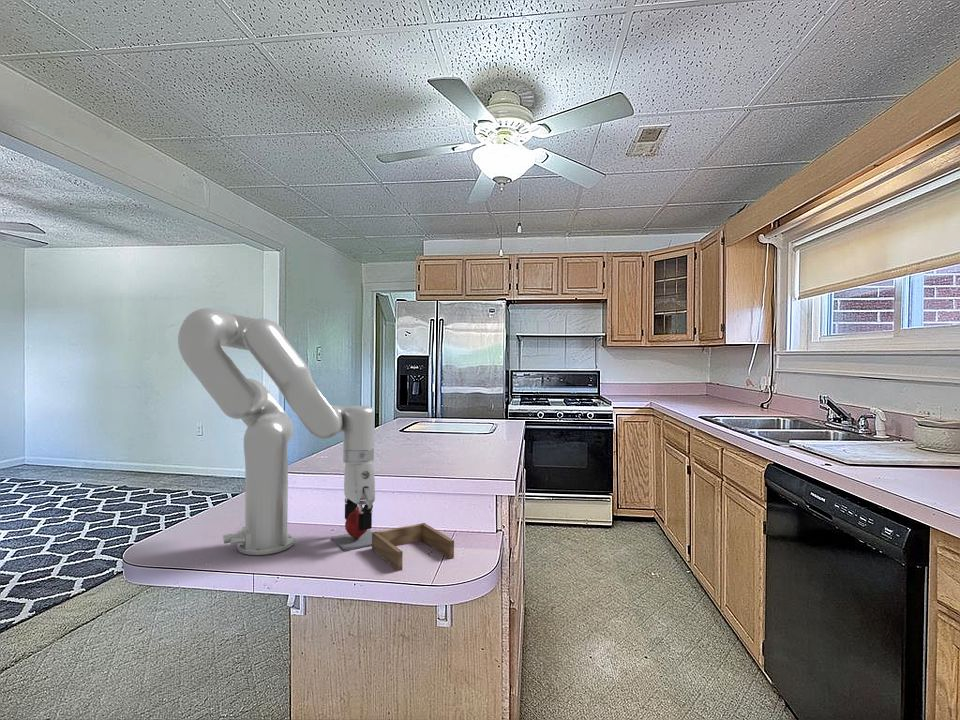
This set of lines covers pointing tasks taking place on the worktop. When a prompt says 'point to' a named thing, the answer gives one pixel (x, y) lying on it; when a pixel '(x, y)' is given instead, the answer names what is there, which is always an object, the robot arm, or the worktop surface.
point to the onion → (353, 524)
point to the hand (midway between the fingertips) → (357, 523)
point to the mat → (353, 541)
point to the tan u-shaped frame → (391, 538)
